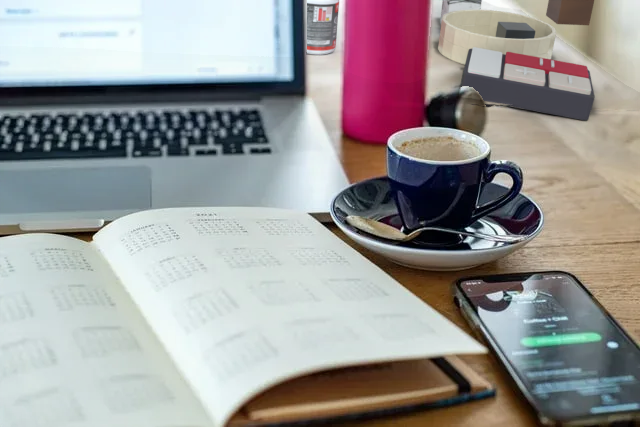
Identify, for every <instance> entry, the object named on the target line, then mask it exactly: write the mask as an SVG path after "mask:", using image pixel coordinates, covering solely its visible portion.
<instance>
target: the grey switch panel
mask: <svg viewBox="0 0 640 427" xmlns="http://www.w3.org/2000/svg"><path fill="white" fill-rule="evenodd" d="M591 76H592V75H591V71H590V70H589V69H588V66H587V65H584V64H577V63H574V62H573V63H572V62H567V61H561V60H556V59H552V58H551V59H546V58H540V57H535V56H529V55H524V54H518V53H513V52H506V55H504V54H502V52H498V51H493V50H487V49H482V48H476V47H473V49H469V50H468V54H467V59H466V63H465V65H464V67H463V71H462V76H461V81H460V86H459V88H460V87H462V86H469V87H473V88H474V89H475V90H476V91H478V92H479V94H480V95H481V96H482V98H483V100H484V101H483V102H489V103H484V104H485V105H486V107H485V108H492V107H494V106H496V105H498V104H501V105H504V106H506V107H512V108H516V109H521V110H526V111H531V112H538V113H543V114H548V115H553V116H558V117H564V118H569V119H574V120H579V121H586V122H587V121H589V119H590V115H591V112H592V108H593V105H594V101H595V92H594V87H593V86H594V85H593V82H592V77H591Z"/></svg>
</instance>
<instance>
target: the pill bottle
mask: <svg viewBox="0 0 640 427" xmlns="http://www.w3.org/2000/svg"><path fill="white" fill-rule="evenodd" d="M339 9H340V0H307V53H306V55H319V56H320V55H321V56H322V55H328V54H331V53H333V52H334V51H335V50H336V46H337V37H338V36H337V34H338V20H339Z"/></svg>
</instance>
